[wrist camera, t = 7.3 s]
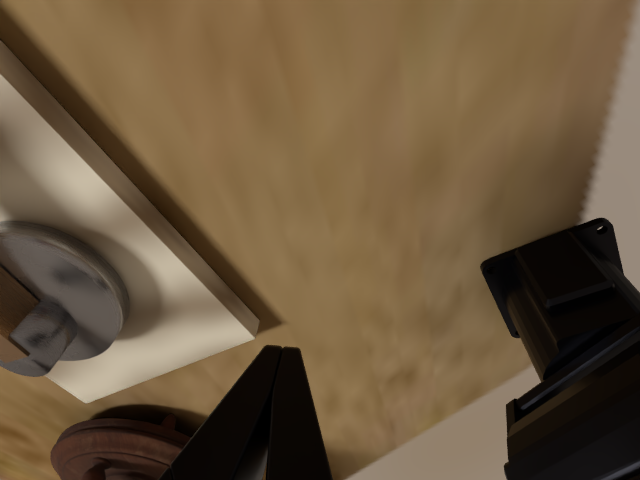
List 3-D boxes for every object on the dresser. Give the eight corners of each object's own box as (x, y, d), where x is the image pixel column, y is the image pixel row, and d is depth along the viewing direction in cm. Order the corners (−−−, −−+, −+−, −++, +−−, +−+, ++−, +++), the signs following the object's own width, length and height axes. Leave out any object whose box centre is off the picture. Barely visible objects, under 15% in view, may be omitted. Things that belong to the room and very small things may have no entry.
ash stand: (259, 320, 26) (254, 342, 24) (96, 386, 31) (83, 407, 29) (-64, -30, 15) (-108, -30, 14) (-225, 157, 21) (-269, 171, 19)
